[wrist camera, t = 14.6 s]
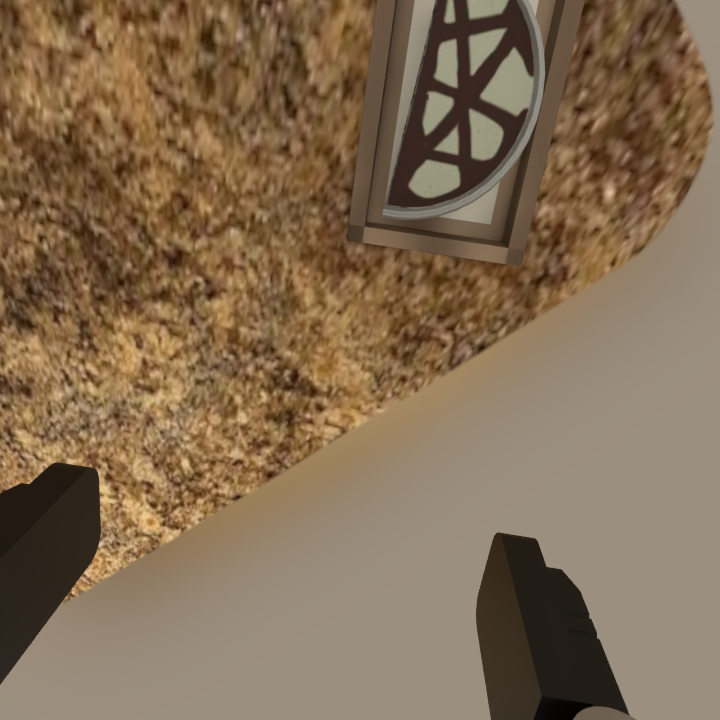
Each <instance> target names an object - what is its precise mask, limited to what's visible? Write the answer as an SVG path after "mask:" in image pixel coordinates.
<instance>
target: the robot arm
mask: <svg viewBox="0 0 720 720" xmlns="http://www.w3.org/2000/svg"><path fill="white" fill-rule="evenodd" d="M100 534H101V523H100V495H99V476H98V472H97V470H96V469H94V468H90V467H84V466H78V465H71V464H65V463H58V462H56V463H53V464H51V465H50V466H49V467H48V468H47V469H46V470H44V471H43V472H42V473H41V474H40V475H39V476H38V477H37V478H36V479H35V480H34V481H32V482H31V483H30V484H24V483H21V484H19V485H17V486H14V487H12V488H10V489H8V490H6V491H4V492H2V493H0V684H1V683H2V682H3V680H4V679H5V678H6V676H7V675H8V674H9V672H10V671H11V670H12V668H13V667H14V666H15V664H16V663H17V661H18V660H19V659H20V657H21V656H22V655H23V653H24V652H25V651H26V649H27V648H28V646H29V645H30V644H31V643H32V641H33V640H34V639H35V637H36V636H37V635H38V633H39V632H40V630H41V629H42V628H43V626H44V625H45V624H46V623H47V621H48V620H49V618H50V617H51V616H52V614H53V613H54V612H55V610H56V609H57V608H58V606H59V605H60V604H61V602H62V601H63V600H64V598H65V597H66V596H67V594H68V593H69V592H70V590H71V589H72V588H73V586H74V585H75V584H76V582H77V581H78V579H79V578H80V577H81V575H82V574H83V573H84V571H85V570H86V569H87V567H88V566H89V565H90V563H91V562H92V560H93V558H94V556H95V554H96V551H97V548H98V545H99V541H100ZM476 624H477V632H478V638H479V644H480V651H481V658H482V664H483V670H484V677H485V683H486V690H487V696H488V703H489V709H490V716H491V720H635V719H634V718H632V717H631V716H630V715H629V713H628V710H627V707H626V705H625V702H624V700H623V698H622V695H621V692H620V690H619V687H618V685H617V682H616V680H615V677H614V675H613V673H612V670H611V668H610V665H609V663H608V660H607V657H606V655H605V652H604V650H603V647H602V645H601V642H600V640H599V639H597V632H596V630H595V627H594V625H593V622H592V620H591V619H589V612H588V610H587V607H586V605H585V602H584V600H583V597H582V594H581V592H580V591H579V589H578V588H577V587H576V586H575V585H574V584H573V582H572V581H571V580H570V579H569V578H568V576H567V575H566V574H565V573H564V572H563V571H562V570H561V569H555V568H549V567H546V565H545V562H544V558H543V555H542V552H541V550H540V547H539V544H538V541H537V540H536V539H535V538H529V537H523V536H517V535H510V534H504V533H496V535H495V536H494V539H493V541H492V545H491V548H490V552H489V556H488V560H487V563H486V567H485V571H484V574H483V578H482V582H481V585H480V589H479V593H478V598H477V608H476Z"/></svg>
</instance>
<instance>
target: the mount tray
mask: <svg viewBox="0 0 720 720" xmlns="http://www.w3.org/2000/svg"><path fill="white" fill-rule="evenodd" d="M584 1H585V0H529V2H530V4H531V6H532V8H533V11H534V14H535V17H536V19H537V22H538V25H539V28H540V32H541V38H542V43H543V48H544V61H545V79H544V89H543V98H542V102H541V106H540V110H539V114H538V119H537V122H536V124H535V127H534V129H533V132H532V134H531V137H530V139H529V141H528V143H527V145H526V147H525V148H524V150H523V152H522V154H521V155H520V157H519V159H518V160H517V162H516V163H515V164H514V165H513V167H512V168H511V169H510V170H509V172H508V173H507V174H506V176H505V177H504V178H503V179H502V180H501V181H499V182H498V183H497V184H496V185H495V186H494V187H493V188H492V189H491V190H490V191H489V192H487V193H486V194H484V195H483V196H481V197H480V198H479V199H477V200H476V201H474V202H473V203H471V204H469V205H467V206H465V207H463V208H461V209H459V210H457V211H454V212H451V213H448V214H445V215H442V216H438V217H433V218H427V219H420V220H398V219H392V218H385V217H382V214H383V210H384V206H385V202H386V198H387V195H388V191H389V187H390V183H391V179H392V176H393V172H394V168H395V163H396V159H397V155H398V151H399V147H400V143H401V139H402V135H403V131H404V127H405V123H406V119H407V115H408V111H409V107H410V103H411V98H412V94H413V90H414V86H415V82H416V78H417V74H418V70H419V66H420V62H421V58H422V54H423V50H424V46H425V42H426V37H427V33H428V29H429V25H430V21H431V17H432V13H433V12H432V11H433V9H434V4H435V0H377V4H376V12H375V20H374V28H373V36H372V44H371V52H370V60H369V68H368V75H367V83H366V91H365V99H364V107H363V115H362V123H361V131H360V139H359V147H358V154H357V162H356V170H355V178H354V186H353V194H352V202H351V210H350V218H349V226H348V234H347V241H354V242H361V243H367V244H374V245H381V246H388V247H394V248H401V249H408V250H414V251H421V252H428V253H435V254H441V255H448V256H455V257H461V258H468V259H475V260H481V261H488V262H495V263H502V264H508V265H515V266H521V263H522V259H523V255H524V250H525V246H526V242H527V238H528V234H529V230H530V225H531V221H532V217H533V213H534V209H535V205H536V201H537V196H538V192H539V188H540V184H541V180H542V176H543V171H544V167H545V163H546V159H547V155H548V151H549V147H550V142H551V138H552V134H553V130H554V126H555V122H556V117H557V113H558V109H559V105H560V101H561V97H562V93H563V88H564V84H565V80H566V76H567V72H568V68H569V63H570V59H571V55H572V51H573V47H574V43H575V39H576V34H577V30H578V26H579V22H580V18H581V14H582V9H583V5H584Z"/></svg>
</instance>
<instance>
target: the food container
mask: <svg viewBox="0 0 720 720" xmlns="http://www.w3.org/2000/svg"><path fill="white" fill-rule="evenodd" d="M432 12H433V13H432V17H431V21H430V25H429V29H428V33H427V37H426V42H425V46H424V50H423V54H422V58H421V62H420V66H419V70H418V74H417V78H416V82H415V86H414V90H413V94H412V98H411V103H410V107H409V111H408V115H407V119H406V123H405V127H404V131H403V135H402V139H401V143H400V147H399V151H398V155H397V159H396V163H395V168H394V172H393V176H392V179H391V183H390V187H389V191H388V195H387V198H386V202H385V206H384V210H383V214H382V217H385V218H392V219H398V220H420V219H427V218H433V217H438V216H442V215H445V214H448V213H451V212H454V211H457V210H459V209H461V208H463V207H465V206H467V205H469V204H471V203H473V202H474V201H476V200H477V199H479V198H480V197H481V196H483V195H484V194H486V193H487V192H489V191H490V190H491V189H492V188H493V187H494V186H495V185H496V184H497V183H498V182H499V181H501V180H502V179H503V178H504V177H505V176H506V174H507V173H508V172H509V170H510V169H511V168H512V167H513V165H514V164H515V163H516V162H517V160H518V159H519V157H520V155H521V154H522V152H523V150H524V148H525V147H526V145H527V143H528V141H529V139H530V137H531V134H532V132H533V129H534V127H535V124H536V122H537V119H538V114H539V110H540V106H541V102H542V98H543V89H544V79H545V61H544V48H543V43H542V38H541V32H540V28H539V25H538V22H537V19H536V17H535V14H534V11H533V8H532V6H531V4H530V2H529V0H435V4H434V9H433V11H432Z"/></svg>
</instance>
